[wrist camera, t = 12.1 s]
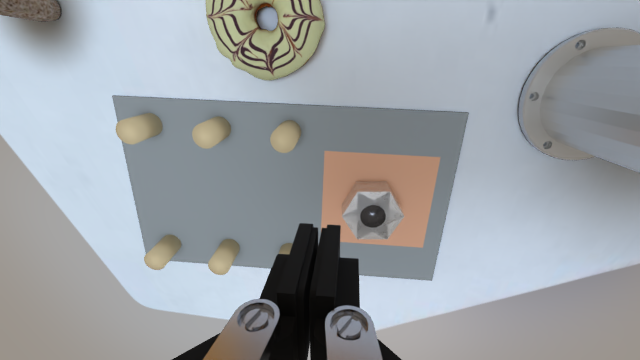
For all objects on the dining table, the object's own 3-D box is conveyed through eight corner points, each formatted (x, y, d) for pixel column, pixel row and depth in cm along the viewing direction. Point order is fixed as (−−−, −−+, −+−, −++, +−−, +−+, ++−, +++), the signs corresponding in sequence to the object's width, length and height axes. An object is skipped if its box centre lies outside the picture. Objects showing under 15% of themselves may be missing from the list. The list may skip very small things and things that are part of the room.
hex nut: (401, 181, 35) (406, 191, 32) (398, 226, 37) (402, 239, 34) (341, 181, 35) (341, 192, 33) (342, 225, 38) (342, 239, 35)
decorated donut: (276, 98, 33) (268, 102, 29) (197, 21, 30) (179, 17, 27) (345, 20, 30) (345, 15, 26) (263, -72, 27) (251, -91, 24)
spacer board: (468, 112, 32) (485, 119, 28) (431, 279, 40) (441, 303, 36) (113, 95, 34) (83, 100, 30) (148, 258, 42) (128, 278, 38)
